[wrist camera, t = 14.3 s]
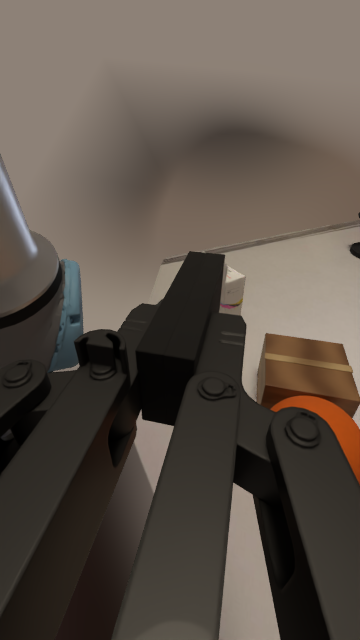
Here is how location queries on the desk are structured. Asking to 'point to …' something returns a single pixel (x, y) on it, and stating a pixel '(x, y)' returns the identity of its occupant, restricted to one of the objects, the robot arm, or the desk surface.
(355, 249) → the microphone
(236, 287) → the ink cartridge box
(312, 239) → the desk surface
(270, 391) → the box
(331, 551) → the robot arm
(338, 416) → the ball
